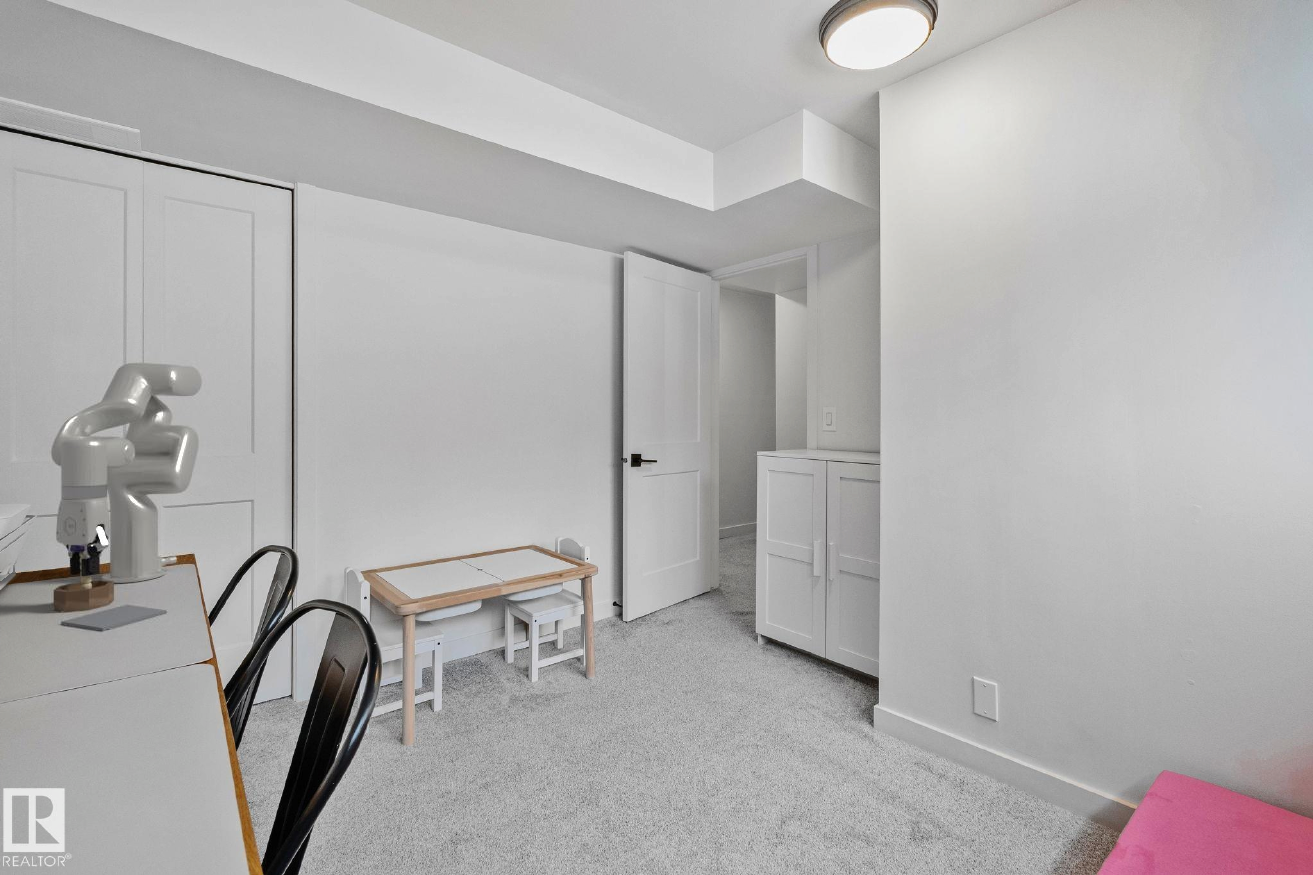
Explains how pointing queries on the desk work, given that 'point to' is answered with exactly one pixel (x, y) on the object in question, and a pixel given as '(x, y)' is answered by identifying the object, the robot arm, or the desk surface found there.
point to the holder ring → (83, 596)
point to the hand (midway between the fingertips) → (84, 573)
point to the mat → (114, 617)
